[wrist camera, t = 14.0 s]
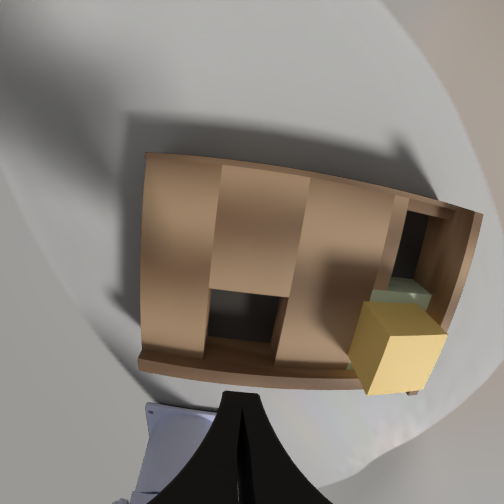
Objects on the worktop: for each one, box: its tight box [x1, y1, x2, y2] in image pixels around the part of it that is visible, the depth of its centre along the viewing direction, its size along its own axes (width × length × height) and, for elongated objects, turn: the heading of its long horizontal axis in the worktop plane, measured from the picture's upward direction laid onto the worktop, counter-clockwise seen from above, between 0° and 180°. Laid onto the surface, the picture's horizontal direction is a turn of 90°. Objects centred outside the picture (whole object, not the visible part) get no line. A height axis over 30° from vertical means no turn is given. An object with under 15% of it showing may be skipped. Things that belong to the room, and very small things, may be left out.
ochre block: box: [348, 301, 448, 396], centre depth 16 cm, size 4×4×4 cm
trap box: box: [138, 152, 483, 395], centre depth 17 cm, size 13×19×5 cm
